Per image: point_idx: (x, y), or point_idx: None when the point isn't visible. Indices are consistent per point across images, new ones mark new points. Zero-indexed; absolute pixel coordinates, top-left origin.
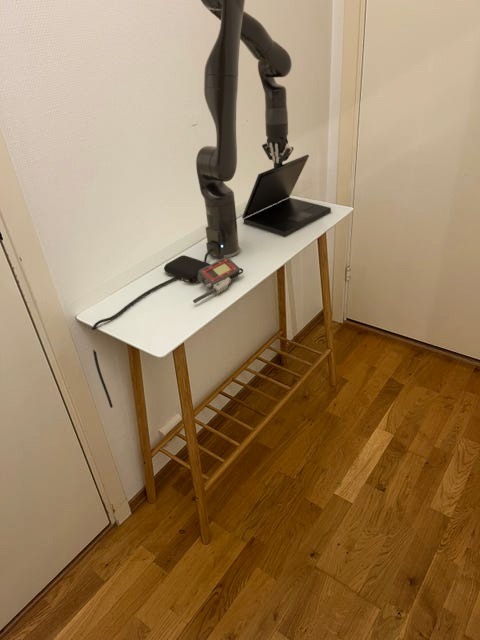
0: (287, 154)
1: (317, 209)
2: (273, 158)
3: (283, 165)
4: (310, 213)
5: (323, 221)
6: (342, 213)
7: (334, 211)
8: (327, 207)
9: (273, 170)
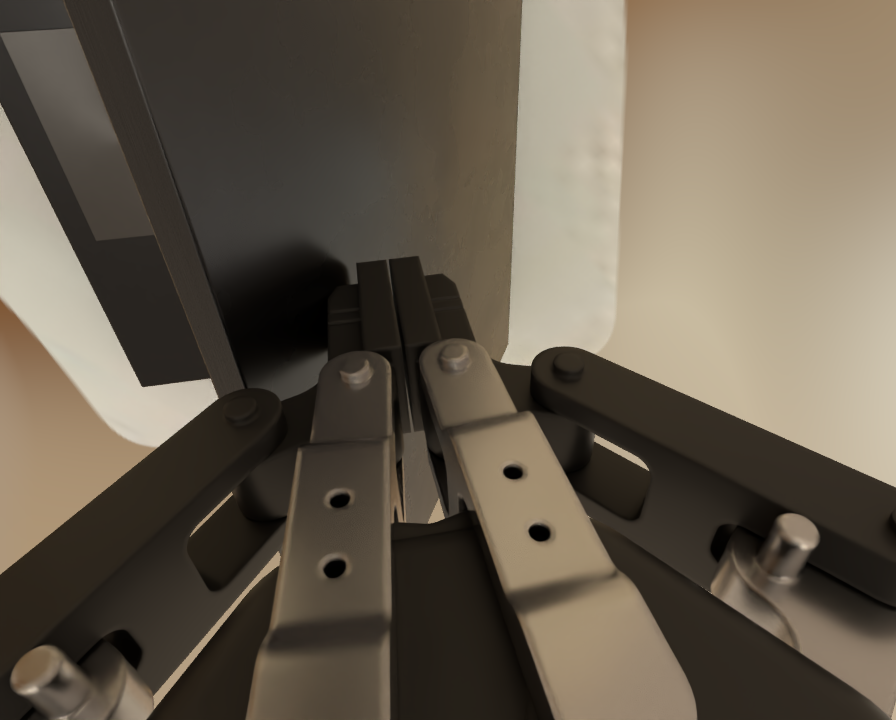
0: (18, 589)
1: (175, 321)
2: (474, 388)
3: (216, 364)
4: (137, 243)
5: (27, 244)
6: (87, 397)
7: (149, 388)
8: (161, 378)
9: (72, 12)
